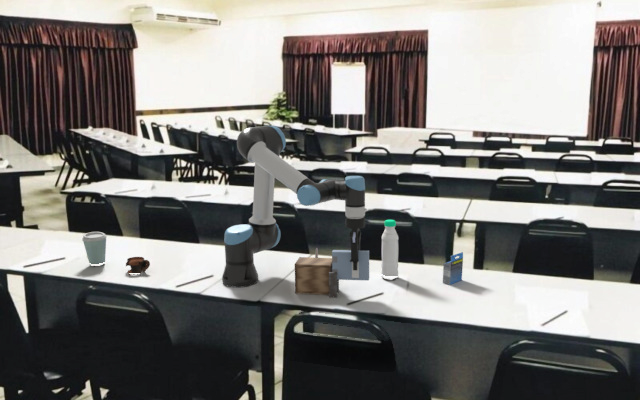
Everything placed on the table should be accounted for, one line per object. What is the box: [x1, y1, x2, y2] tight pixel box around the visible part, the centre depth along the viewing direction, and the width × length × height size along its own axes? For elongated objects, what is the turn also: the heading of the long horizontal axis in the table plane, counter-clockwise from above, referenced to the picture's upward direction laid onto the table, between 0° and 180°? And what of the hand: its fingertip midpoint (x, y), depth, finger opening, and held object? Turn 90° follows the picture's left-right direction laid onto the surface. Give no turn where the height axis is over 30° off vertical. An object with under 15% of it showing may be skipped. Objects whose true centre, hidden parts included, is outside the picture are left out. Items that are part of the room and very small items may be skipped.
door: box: [331, 249, 370, 281], centre depth 237 cm, size 14×3×11 cm, turn 81°
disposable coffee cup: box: [82, 231, 107, 264], centre depth 284 cm, size 11×11×15 cm
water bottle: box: [380, 219, 399, 277], centre depth 258 cm, size 7×7×25 cm
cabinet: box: [294, 256, 340, 299], centre depth 243 cm, size 17×13×12 cm
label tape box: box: [442, 251, 464, 286], centre depth 253 cm, size 9×4×12 cm, turn 134°
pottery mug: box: [125, 256, 151, 274], centre depth 273 cm, size 12×9×8 cm
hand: (355, 276), depth 237 cm, fingers closed on door, 3 cm apart
